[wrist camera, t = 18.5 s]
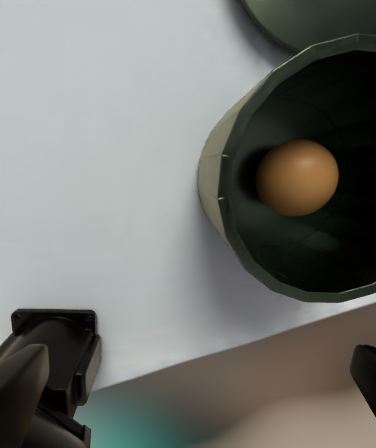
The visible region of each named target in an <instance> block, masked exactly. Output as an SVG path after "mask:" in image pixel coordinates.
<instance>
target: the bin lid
mask: <svg viewBox="0 0 376 448" xmlns="http://www.w3.org/2000/svg"><path fill="white" fill-rule="evenodd" d="M240 1H241V3H242V4H243V6H244V8H245V10H246V11H247V13H248V15H249V16H250V17H251V19H252V20H253V21H254V23H255V24H256V25H257V26H258V27H259V28H260V29H261V30H262V31H263V32H264V33H265V34H266V35H267V36H268V37H269V38H271V39H272V40H273V41H275V42H276V43H278V44H280V45H281V46H283V47H285V48H287V49H289V50H292V51H295V52H298V53H300V52H301V51H303V50H304V49H306V48H307V47H309V46H311V45H313V44H317V43H321V42H325V41H329V40H333V39H337V38H341V37H345V36H349V35H353V34H358V33H360V34H368V35H376V0H240Z"/></svg>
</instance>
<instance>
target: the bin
mask: <svg viewBox="0 0 376 448" xmlns="http://www.w3.org/2000/svg"><path fill="white" fill-rule="evenodd" d="M295 139H305V140H311V141H314V142H317V143H318V144H320V145H322V146H324V147H325V148H326V149H327V150H328V151H329V152H330V153H331V154H332V155H333V157H334V159H335V161H336V163H337V167H338V173H339V177H338V184H337V187H336V190H335V192H334V194H333V195H332V197H331V198H330V199H329V201H328V202H327V203H326V204H325V205H324V206H323V207H321V208H320V209H318V210H316V211H315V212H313V213H310V214H307V215H303V216H285V215H281V214H278V213H276V212H274V211H272V210H271V209H269V208H268V207H267V206H266V205H265V204H264V203H263V202H262V200H261V199H260V197H259V195H258V192H257V189H256V182H255V179H256V172H257V169H258V166H259V164H260V162H261V160H262V159H263V157H264V156H265V155H266V154H267V153H268V152H269V151H270V150H271V149H272V148H274V147H275V146H277V145H279V144H281V143H283V142H286V141H289V140H295ZM198 190H199V196H200V200H201V203H202V206H203V210H204V212H205V213H206V215H207V217H208V218H209V220H210V222H211V223H212V225H213V226H214V228H215V230H216V231H217V232H218V234H219V235H220V236H221V238H222V239H223V240H224V242H225V243H226V244H227V246H228V247H229V248H230V250H231V251H232V252H233V254H234V255H235V256H236V258H237V259H238V260H239V262H240V263H241V264H242V266H243V267H244V268H245V269H246V270H247V271H248V272H249V273H250V274H252V275H253V276H254V277H255V278H257V279H258V280H259V281H260V282H262V283H263V284H264V285H265V286H267V287H268V288H269V289H270V290H273V291H274V292H277V293H280V294H283V295H286V296H288V297H291V298H294V299H297V300H300V301H303V302H323V303H339V302H340V303H341V302H345V301H348V300H352V299H356V298H359V297H363V296H367V295H370V294H374V293H376V35H368V34H360V33H358V34H353V35H349V36H345V37H341V38H337V39H333V40H329V41H325V42H321V43H317V44H313V45H311V46H309V47H307V48H306V49H304V50H303V51H301V52H300V53H298V54H297V55H295V56H294V57H292V58H291V59H289V60H288V61H286V62H285V63H283V64H282V65H280V66H279V67H277V68H276V69H274V70H273V71H271V72H270V73H269V74H268V75H267V76H266V77H265V78H264V79H263V80H261V81H260V82H259V83H258V84H257V85H256V86H255V87H254V88H253V89H252V90H250V91H249V92H248V93H247V94H246V95H245V96H244V97H243V98H242V99H241V100H240V101H238V102H237V103H236V104H235V105H234V106H233V107H232V108H231V109H230V110H229V111H228V112H227V113H226V114H225V115H224V116H223V118H222V119H221V120H220V121H219V122H218V123H217V125H216V126H215V127H214V129H213V130H212V131H211V133H210V134H209V137H208V139H207V141H206V143H205V145H204V148H203V150H202V154H201V157H200V161H199V168H198Z"/></svg>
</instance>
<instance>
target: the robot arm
mask: <svg viewBox="0 0 376 448" xmlns="http://www.w3.org/2000/svg"><path fill="white" fill-rule="evenodd" d="M17 314H18V315H20V316H21V317H19V316H18V315H17ZM88 315H90V316H91V317H92V318H89V317H87V316H88ZM11 322H12V331H13V333H12V334H11V335H10V336H9V337H8V338H7V339H6V340H5V341H4V342H3V343H2V344H1V346H0V448H90V439H91V429H90V428H88V427H87V426H86V425H83V426H82V425H81V424H79V423H78V422H76V421H75V420H74V419H73V416H74V414H75V410H76V408H77V406H82V405H84V404H85V403H86V402H87V399H88V396H89V393H90V391H91V388H92V385H93V382H94V379H95V376H96V373H97V370H98V367H99V364H100V362H101V338H100V336H99V334H97V322H96V313H95V311H93V310H67V309H17V310H15V311H14V312H13V313H12V315H11ZM350 372H351V375H352V377H353V379H354V381H355V382H356V384H357V386H358V388H359V389H360V391H361V393H362V395H363V396H364V398H365V400H366V401H367V403H368V405H369V407H370V408H371V410H372V412H373V413H374V415H375V417H376V347H375V346H373V345H370V344H359V345H356V347H355V348H354V352H353V356H352V360H351V363H350Z"/></svg>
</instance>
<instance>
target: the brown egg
mask: <svg viewBox="0 0 376 448" xmlns="http://www.w3.org/2000/svg"><path fill="white" fill-rule="evenodd" d="M338 177H339V173H338V167H337V163H336V161H335V159H334V157H333V155H332V154H331V153H330V152H329V151H328V150H327V149H326V148H325V147H324V146H322V145H320V144H318V143H317V142H314V141H311V140H305V139H295V140H289V141H286V142H283V143H281V144H279V145H277V146H275V147H274V148H272V149H271V150H270V151H269V152H268V153H267V154H266V155H265V156H264V157H263V159H262V160H261V162H260V164H259V166H258V169H257V172H256V179H255V182H256V189H257V192H258V195H259V197H260V199H261V200H262V202H263V203H264V204H265V205H266V206H267V207H268V208H269V209H271V210H272V211H274V212H276V213H278V214H281V215H285V216H303V215H307V214H310V213H313V212H315V211H316V210H318V209H320V208H321V207H323V206H324V205H325V204H326V203H327V202H328V201H329V199H330V198H331V197H332V195H333V194H334V192H335V190H336V187H337V184H338Z"/></svg>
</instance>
